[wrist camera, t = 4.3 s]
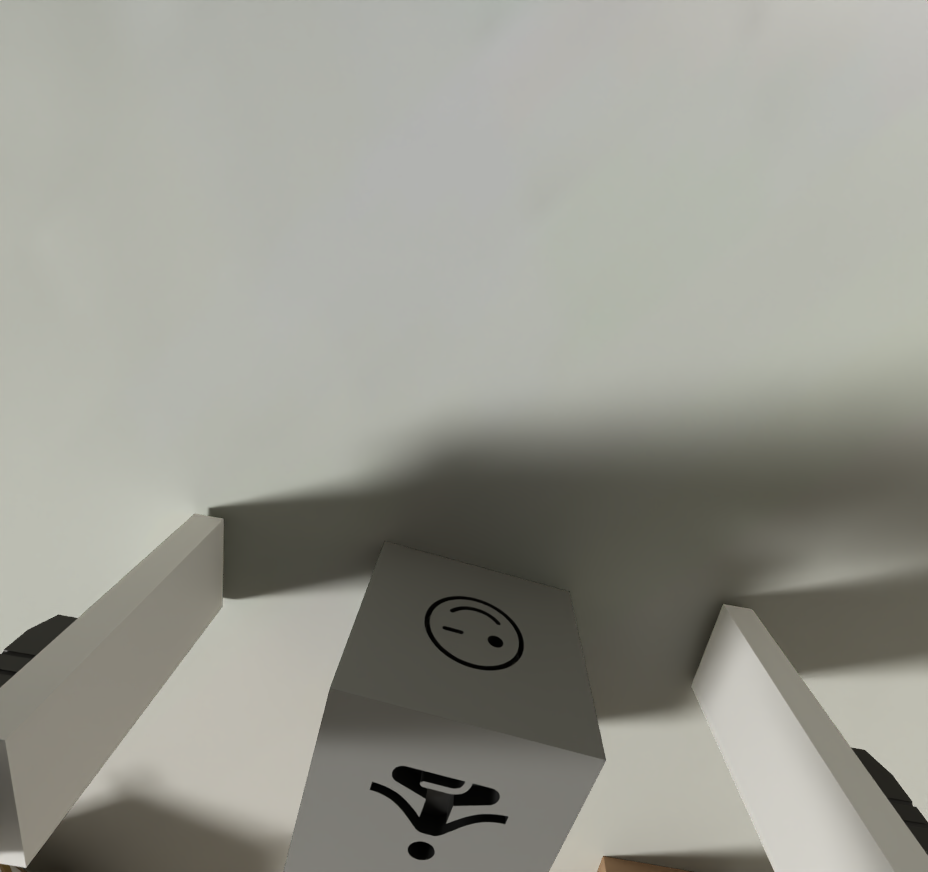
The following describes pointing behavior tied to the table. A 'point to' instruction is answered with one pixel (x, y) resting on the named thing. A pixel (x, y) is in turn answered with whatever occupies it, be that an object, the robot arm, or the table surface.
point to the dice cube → (450, 727)
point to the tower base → (631, 866)
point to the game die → (10, 868)
